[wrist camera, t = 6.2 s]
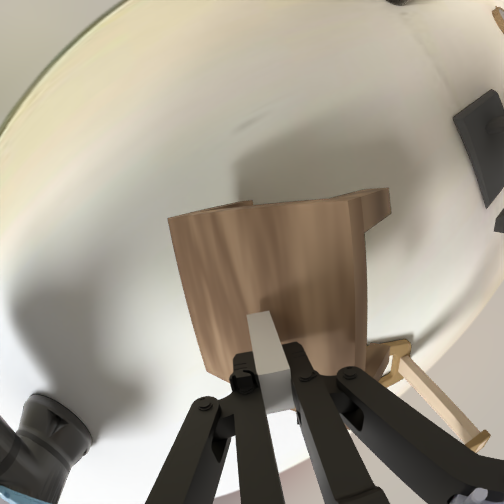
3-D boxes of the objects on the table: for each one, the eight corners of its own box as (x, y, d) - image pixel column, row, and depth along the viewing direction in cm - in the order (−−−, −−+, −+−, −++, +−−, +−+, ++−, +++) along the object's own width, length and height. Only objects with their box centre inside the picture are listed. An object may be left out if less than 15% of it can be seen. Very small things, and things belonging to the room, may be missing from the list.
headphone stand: (345, 349, 35) (430, 465, 14) (409, 329, 36) (505, 411, 14) (343, 400, 37) (401, 506, 16) (401, 380, 38) (471, 463, 17)
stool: (206, 371, 27) (349, 429, 16) (167, 218, 23) (347, 200, 12) (261, 333, 33) (388, 362, 22) (238, 201, 30) (388, 187, 19)
